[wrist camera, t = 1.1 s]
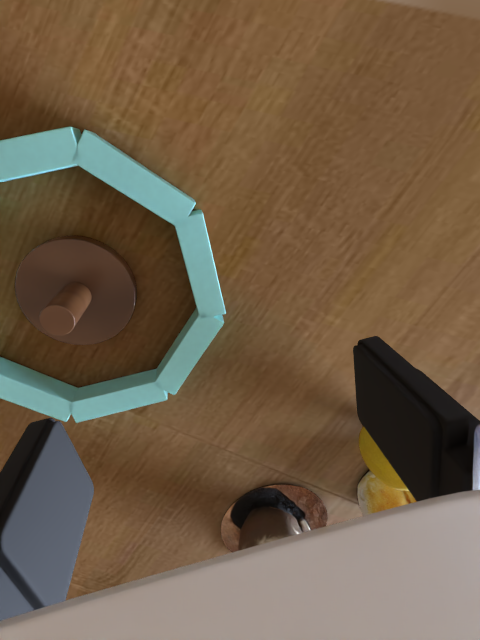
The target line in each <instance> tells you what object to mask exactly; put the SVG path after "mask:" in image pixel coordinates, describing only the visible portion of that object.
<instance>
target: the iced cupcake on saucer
mask: <svg viewBox="0 0 480 640" xmlns="http://www.w3.org/2000/svg"><path fill="white" fill-rule="evenodd" d="M326 524H327V511H326V508H325V505H324V504H323V502H322V500H321V499H320V498H319V497H318V496H316V494H314V493H313V492H311V491H310V490H308V489H304V488H303V487H300V486H293V485H273V486H268V487H261V488H258V489H255V490H253V491H250V492H248V493H246V494H245V495H243V496H242V497H241V498H239V499H238V500H237V501H236V502H235V503H234V504H233V505H232V506H231V507H230V508H229V509H228V511H227V512H226V514H225V516H224V518H223V521H222V524H221V536H222V539H223V542H224V544H225V545H226V547H227V548H228V549H229V550H230V551H231V552H236V551H239V550H243V549H247V548H250V547H254V546H257V545H261V544H264V543H268V542H271V541H275V540H278V539H282V538H285V537H289V536H293V535H296V534H300V533H303V532H307V531H311V530H314V529H318V528H321V527H325V526H326Z"/></svg>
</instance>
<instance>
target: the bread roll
mask: <svg viewBox="0 0 480 640" xmlns="http://www.w3.org/2000/svg"><path fill="white" fill-rule="evenodd" d="M357 497H358V501H359V506H360V509H361V512H362V515H363V516H365V515H368V514H372V513H376V512H379V511H383V510H387V509H391V508H395V507H399V506H403V505H407V504H410V503H414V502H417V501H416V500H415V498H414V497H413V496H412V494H411V493H410V491H401V490H396V489H393V488H391V487H388V486H387V485H385V484H384V483H383V482H381V481H380V480H379V479H378V478H377V477H376V476H375V475H374V474H373V473H372V472H371V471H369V472H368V473H367V474H366V475H365V476H364V477H363V478H362V479H361V481H360V482H359V484H358V493H357Z"/></svg>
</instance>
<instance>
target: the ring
mask: <svg viewBox="0 0 480 640" xmlns="http://www.w3.org/2000/svg"><path fill="white" fill-rule="evenodd" d="M76 166H80V167H81V168H83V169H84V170H86V171H88V172H89V173H91V174H92V175H94V176H96V177H97V178H99V179H100V180H102V181H104V182H105V183H107V184H108V185H110V186H112V187H113V188H115V189H117V190H118V191H120V192H121V193H123V194H125V195H126V196H128V197H129V198H131V199H133V200H134V201H136V202H137V203H139V204H141V205H142V206H144V207H145V208H147V209H149V210H150V211H152V212H153V213H155V214H157V215H158V216H160V217H161V218H163V219H165V220H166V221H168V222H169V223H171V224H173V225H174V226H175V229H176V232H177V236H178V240H179V243H180V247H181V251H182V255H183V258H184V262H185V266H186V269H187V273H188V277H189V281H190V284H191V288H192V292H193V295H194V299H195V303H196V309H195V310H194V312H193V313H192V315H191V317H190V318H189V320H188V321H187V323H186V324H185V326H184V327H183V329H182V330H181V332H180V333H179V335H178V337H177V338H176V340H175V341H174V343H173V344H172V346H171V347H170V349H169V350H168V352H167V353H166V355H165V357H164V358H163V360H162V361H161V363H160V364H159V366H158V367H157V369H153V370H149V371H145V372H141V373H137V374H133V375H129V376H125V377H121V378H116V379H112V380H108V381H104V382H100V383H96V384H92V385H88V386H84V387H80V388H77V387H74V386H72V385H69V384H67V383H64V382H62V381H59V380H57V379H54V378H52V377H49V376H47V375H45V374H42V373H40V372H37V371H35V370H32V369H30V368H27V367H25V366H22V365H20V364H17V363H15V362H12V361H10V360H7V359H5V358H2V357H0V398H1V399H4V400H7V401H10V402H12V403H15V404H18V405H20V406H23V407H26V408H29V409H31V410H34V411H37V412H40V413H42V414H45V415H48V416H51V417H53V418H56V419H59V420H62V421H64V422H67V420H68V419H69V417H70V415H71V414H72V416H73V418H74V420H75V422H76V423H77V422H81V421H85V420H89V419H93V418H97V417H101V416H105V415H109V414H113V413H117V412H121V411H125V410H129V409H133V408H137V407H141V406H145V405H149V404H153V403H157V402H161V401H165V400H167V395H168V392H169V393H171V394H173V395H175V394H176V392H177V391H178V389H179V388H180V386H181V385H182V383H183V382H184V381H185V379H186V378H187V376H188V375H189V373H190V372H191V370H192V369H193V367H194V366H195V365H196V363H197V362H198V360H199V359H200V357H201V356H202V354H203V353H204V351H205V350H206V348H207V347H208V346H209V344H210V343H211V341H212V340H213V338H214V337H215V335H216V334H217V332H218V331H219V330H220V328H221V327H222V325H223V324H224V321H223V317H222V315H223V314H226V311H225V307H224V303H223V298H222V294H221V290H220V285H219V281H218V277H217V272H216V268H215V264H214V259H213V255H212V251H211V246H210V242H209V238H208V233H207V229H206V225H205V220H204V216H203V213H202V210H201V209H200V210H195V211H192V209H193V208H194V206H195V204H196V203H195V200H194V199H193V198H191V197H190V196H188V195H187V194H185V193H184V192H182V191H181V190H179V189H178V188H176V187H175V186H173V185H172V184H170V183H169V182H167V181H166V180H164V179H162V178H161V177H159V176H158V175H156V174H155V173H153V172H152V171H150V170H149V169H147V168H146V167H144V166H143V165H141V164H140V163H138V162H137V161H135V160H134V159H132V158H131V157H129V156H128V155H126V154H125V153H123V152H122V151H120V150H119V149H117V148H116V147H114V146H113V145H111V144H110V143H108V142H107V141H105V140H104V139H102V138H101V137H99V136H98V135H96V134H95V133H93V132H91V131H88V130H84V131H83V133H82V135H81V132H80V129H77V128H74V127H71V126H68V127H64V128H59V129H54V130H49V131H44V132H39V133H34V134H29V135H24V136H20V137H15V138H10V139H5V140H0V182H5V181H9V180H14V179H19V178H24V177H28V176H33V175H38V174H43V173H47V172H52V171H57V170H61V169H66V168H71V167H76Z"/></svg>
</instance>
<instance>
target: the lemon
mask: <svg viewBox="0 0 480 640" xmlns="http://www.w3.org/2000/svg"><path fill="white" fill-rule="evenodd" d="M359 448H360V452H361V455H362V458H363V460H364V461H365V463H366V465H367V466H368V468H369V469H370V471H371V472H372V473H373V474H374V475H375V476H376V477H377V478H378V479H379V480H380V481H381V482H383V483H384V484H385V485H387V486H388V487H391V488H393V489H396V490H401V491H409V490H408V489H407V487H406V486H405V484H404V483H403V481H402V480H401V479H400V477H399V476H398V474H397V473H396V472H395V470H394V469H393V467H392V466H391V464H390V463H389V462H388V460H387V459H386V457H385V456H384V455H383V453H382V452H381V450H380V449H379V447H378V446H377V445H376V443H375V442H374V440H373V439H372V438H371V436H370V435H369V433H368V432H367V430H366V429H365V428H364V426H363V427H362V429H361V432H360V435H359Z"/></svg>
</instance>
